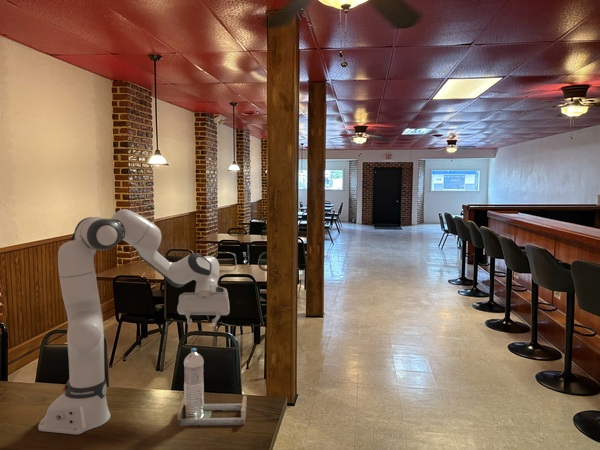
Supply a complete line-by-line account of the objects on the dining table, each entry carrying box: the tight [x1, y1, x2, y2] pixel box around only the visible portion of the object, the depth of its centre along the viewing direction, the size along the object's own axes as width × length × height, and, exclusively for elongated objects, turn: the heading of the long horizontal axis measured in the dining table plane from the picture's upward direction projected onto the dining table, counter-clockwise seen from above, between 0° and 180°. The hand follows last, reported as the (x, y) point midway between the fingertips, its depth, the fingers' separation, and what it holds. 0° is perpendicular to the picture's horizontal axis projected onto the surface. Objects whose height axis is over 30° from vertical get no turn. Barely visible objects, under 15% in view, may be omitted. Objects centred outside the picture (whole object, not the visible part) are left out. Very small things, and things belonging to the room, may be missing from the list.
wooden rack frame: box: [176, 395, 247, 427], centre depth 161 cm, size 23×11×5 cm, turn 93°
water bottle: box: [183, 347, 205, 418], centre depth 160 cm, size 7×7×25 cm
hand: (201, 323), depth 172 cm, fingers open, 8 cm apart
